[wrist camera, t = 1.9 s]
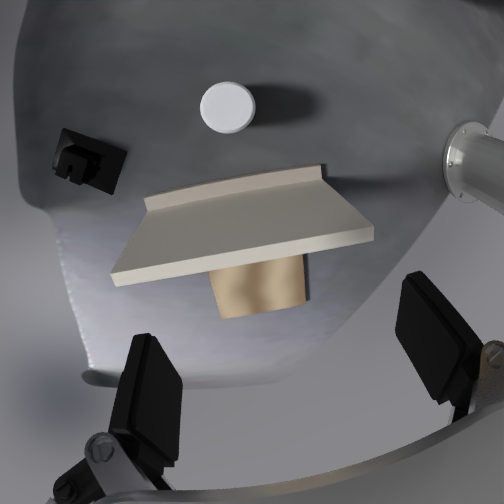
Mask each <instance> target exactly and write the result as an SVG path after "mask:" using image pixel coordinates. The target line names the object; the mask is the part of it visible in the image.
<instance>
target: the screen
mask: <svg viewBox="0 0 504 504" xmlns="http://www.w3.org/2000/svg"><path fill="white" fill-rule="evenodd" d="M144 201H145V204H146V207H147V213H146V215H145V216H144V218H143V219H142V221H141V222H140V224H139V226H138V227H137V229H136V230H135V232H134V234H133V235H132V237H131V239H130V240H129V242H128V244H127V245H126V247H125V249H124V250H123V252H122V254H121V256H120V257H119V259H118V261H117V263H116V264H115V266H114V268H113V270H112V271H111V273H110V275H111V277H112V279H113V281H114V284H115V286H116V287H117V286H123V285H129V284H135V283H141V282H147V281H153V280H159V279H165V278H171V277H176V276H182V275H188V274H194V273H200V272H205V271H211V270H217V269H222V268H228V267H233V266H239V265H245V264H250V263H256V262H261V261H267V260H272V259H278V258H283V257H289V256H294V255H300V254H305V253H310V252H316V251H321V250H326V249H332V248H337V247H342V246H348V245H353V244H358V243H363V242H368V241H373V239H374V226H373V225H372V224H371V223H370V222H369V221H368V220H367V219H366V218H365V217H364V216H363V215H362V214H361V213H359V212H358V211H357V210H356V209H355V208H354V207H353V206H352V205H351V204H350V203H349V202H347V201H346V200H345V199H344V198H343V197H342V196H341V195H340V194H339V193H337V192H336V191H335V190H334V189H333V188H332V187H331V186H329V185H328V184H327V183H326V182H325V181H324V180H322V174H321V165H319V164H311V165H304V166H296V167H289V168H282V169H276V170H270V171H263V172H257V173H251V174H246V175H240V176H234V177H229V178H224V179H218V180H213V181H208V182H203V183H199V184H194V185H189V186H185V187H180V188H176V189H171V190H167V191H163V192H158V193H154V194H150V195H146V196H145V197H144Z"/></svg>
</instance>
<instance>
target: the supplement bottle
mask: <svg viewBox="0 0 504 504" xmlns="http://www.w3.org/2000/svg"><path fill="white" fill-rule="evenodd" d="M200 111H201V115H202V118H203V120H204V122H205V123H206V124H207V125H208V126H209V127H210V128H212V129H213V130H215V131H217V132H220V133H235V132H238V131H240V130H242V129H244V128H245V127H246V126H247V125H248V124H249V123H250V122H251V121H252V119H253V117H254V114H255V101H254V98H253V96H252V94H251V92H250V91H249V90H248V89H247V88H246V87H244V86H242V85H241V84H238V83H235V82H221V83H218V84H215V85H214V86H212V87H211V88H209V89H208V90H207V91H206V93H205V94H204V96H203V98H202V100H201V104H200Z"/></svg>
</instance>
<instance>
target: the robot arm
mask: <svg viewBox="0 0 504 504" xmlns="http://www.w3.org/2000/svg"><path fill="white" fill-rule="evenodd" d="M443 173H444V179H445V182H446V185H447V188H448V189H449V191H450V193H451V194H452V195H453V196H454V197H455V198H457V199H458V200H460V201H462V202H465V203H471V202H474V201H477V200H480V201H481V202H483V203H485V204H487V205H488V206H490V207H491V208H493V209H495V210H496V211H498V212H499V213H501V214H502V215H504V141H502V140H499V139H496V138H493V137H492V135H491V133H490V131H489V130H488V129H487V128H486V127H485V126H484V125H482V124H481V123H478V122H475V121H466V122H463V123H461V124H459V125H458V126H457V127H456V128H455V129H454V131H453V132H452V133H451V135H450V137H449V139H448V141H447V144H446V147H445V152H444V157H443ZM395 333H396V336H397V338H398V340H399V342H400V343H401V345H402V346H403V348H404V350H405V352H406V353H407V355H408V357H409V358H410V360H411V362H412V363H413V366H414V367H415V369H416V371H417V373H418V374H419V376H420V378H421V380H422V382H423V383H424V385H425V387H426V389H427V391H428V393H429V394H430V396H431V398H432V399H433V400H436V401H437V402H438V404H439V405H440V404H442V403H444V402H446V401H448V400H449V401H450V402H451V404H452V409H451V414H450V417H449V422H448V425H447V426H446V427H444V428H442V429H440V430H438V431H437V432H434V433H432V434H430V435H428V436H426V437H424V438H422V439H420V440H418V441H415V442H413V443H411V444H408V445H406V446H404V447H401V448H399V449H397V450H394V451H392V452H389V453H387V454H384V455H381V456H378V457H376V458H373V459H370V460H367V461H364V462H361V463H358V464H355V465H352V466H348V467H345V468H341V469H338V470H334V471H331V472H327V473H323V474H319V475H315V476H310V477H306V478H301V479H296V480H291V481H285V482H279V483H273V484H267V485H260V486H252V487H242V488H231V489H216V490H185V491H183V490H176V489H175V488H174V487H173V486H172V485H171V484H170V482H169V481H168V480H167V479H166V478H165V477H164V475H163V472H164V467H174V462H175V461H177V460H178V456H179V434H180V416H181V401H182V389H183V384H182V379H181V377H180V376H179V374H178V373H177V371H176V369H175V368H174V366H173V365H172V363H171V361H170V360H169V358H168V357H167V355H166V353H165V352H164V350H163V348H162V347H161V345H160V343H159V342H158V340H157V338H156V337H155V336H151V334H150V333H144V334H138V335H134V337H133V339H132V343H131V346H130V350H129V354H128V357H127V361H126V365H125V368H124V371H123V372H122V374H121V377H120V381H119V385H118V389H117V393H116V398H115V402H114V406H113V411H112V416H111V420H110V425H109V429H108V433H107V432H99V433H96V434H94V435H93V436H91V437H90V438H89V440H88V441H87V443H86V445H85V449H84V454H85V458H84V459H83V460H82V461H80V462H79V463H78V464H76V465H75V466H74V467H72V468H71V469H70V470H68V471H67V472H66V473H65V474H63V475H62V476H61V477H59V478H58V479H57V480H56V482H55V484H54V487H53V494H54V498H51V497H50V498H49V500H48V501H47V503H46V504H504V343H503V342H501V341H495V340H493V341H489V342H488V343H486V344H485V345H483V343H482V342H481V340H480V339H479V338H478V336H477V335H476V334H475V332H474V331H473V330H472V329H471V327H470V326H469V325H468V324H467V322H466V321H465V320H464V319H463V317H462V316H461V315H460V314H459V313H458V311H457V310H456V309H455V308H454V307H453V306H452V305H451V303H450V302H449V301H448V300H447V299H446V298H445V296H444V295H443V294H442V293H441V292H440V291H439V289H437V287H436V286H435V285H434V284H433V283H432V282H431V281H430V280H429V279H428V277H427V276H426V275H425V274H424V273H423V272H422V271H417V272H413V273H410V274H407V276H406V278H405V279H404V280H403V282H402V289H401V296H400V303H399V309H398V315H397V321H396V327H395Z"/></svg>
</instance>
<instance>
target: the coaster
mask: <svg viewBox="0 0 504 504" xmlns="http://www.w3.org/2000/svg"><path fill="white" fill-rule="evenodd" d="M208 273H209V277H210V280H211V284H212V287H213V291H214V294H215V297H216V301H217V304H218V307H219V311H220V314H221V317H222V319H227V318H233V317H239V316H245V315H251V314H257V313H262V312H268V311H273V310H279V309H284V308H289V307H294V306H299V305H304V304H306V296H305V280H304V266H303V254H300V255H294V256H289V257H283V258H278V259H272V260H267V261H261V262H256V263H250V264H245V265H239V266H233V267H228V268H222V269H217V270H211V271H208Z"/></svg>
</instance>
